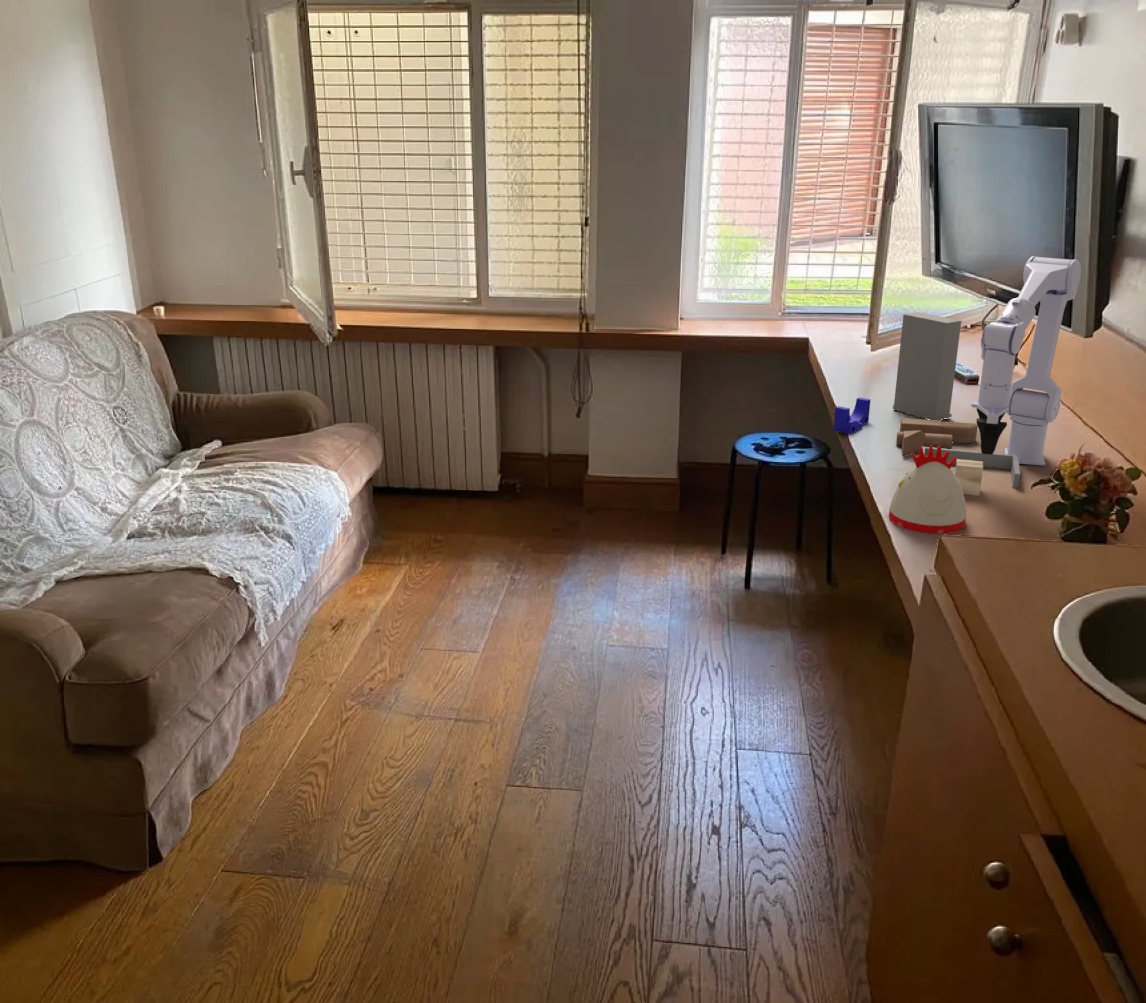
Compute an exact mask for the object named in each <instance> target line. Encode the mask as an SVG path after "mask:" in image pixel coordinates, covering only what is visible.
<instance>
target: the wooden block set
mask: <svg viewBox="0 0 1146 1003" xmlns="http://www.w3.org/2000/svg"><path fill="white" fill-rule="evenodd" d="M899 424H900V426H899V431H897V433H896V442H895V443H896V444H895V445H897V446H901V456H904V457H907V456H906V455H908V456H911V455H910V454H911V451H912V452H913V454H914V453H915V454H918V453H917V452H919V447H920V445H921V446H922V447H930V445H932V446H933V447H934V448H937V447H938V445H940V446H941V448H944V449H947V448H950V449H952V447H953V444H957V443H963V444H962V445H967V444H968V443H969V444H972V442H973V443H975V442H976V441H977V437H978V436H977V434H978V429H979V428H978V426H977V423H972V422H955V421H953V422H952V421H940V420H926V419H923V418H901V419H900V422H899ZM952 442H953V443H952ZM915 454H914V455H915Z"/></svg>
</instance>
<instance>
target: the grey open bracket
mask: <svg viewBox="0 0 1146 1003" xmlns="http://www.w3.org/2000/svg"><path fill="white" fill-rule="evenodd" d="M922 448H923V452H924V456H926V455H927V453H928V450H929V447H922ZM936 450H937V448H933V456H934V455H935V453H936ZM947 450H948V451H949V455H948V457H947V460H946V462H947V463H948V462H950V461H951V460H952V458H953V457H954V456H955V457H956V460H955V462H954V464H953V465H956V464H955V463H957V459H961V460H971V461H982V462H983V468H984V467H985V468H992V467H995V469H1005V470H1010V474H1011V483H1012V488H1013V489H1015V488H1016V489H1017V488H1019V484H1020V479H1021V478H1020V477H1021V471H1020V470H1021V469H1020V463H1019V462H1018V455H1010V454H1005V453H999V452H994V453H993V455H990V454H982V452H981V451H975V450H965V449H955V448H954V449H953V448H950V449H947V448H941V456H943V455H944V453H945V452H946V451H947Z"/></svg>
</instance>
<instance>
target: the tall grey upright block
mask: <svg viewBox="0 0 1146 1003" xmlns="http://www.w3.org/2000/svg"><path fill="white" fill-rule="evenodd" d="M902 315H903V316H902V325H901V334H900V335H901V336H900V346H899V354H898V363H897V364H898V365H897V372H896V382H895V390H894V391H895V392H894V399H893V401H894V402H893V403H894V404H893V405H892V410H893V409H894V410H897V411H896V412H900V411H901V412H900V413H903V412H905V413H904V414H907V413H909V414H908V415H910V414H912V415H911V416H913V415H916V416H919V417H918V418H920V417H923V418H927V419H930V420H941V419H944V418H949V417H951V418H952V415H953V414H952V413H951V406H952V397H953V391H954V384H955V375H956V366H957V359H958V350H959V343H960V335H961V334H960V333H961V327H962V320H960V319H953V318H949V317H944V316H939V315H936V314H931V313H930V314H929V313H926V312H925V313H923V312H919V311H917V312H916V311H915V312H910V313H903V314H902ZM894 410H893V411H894ZM916 416H915V417H916ZM923 418H922V419H923Z"/></svg>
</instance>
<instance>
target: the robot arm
mask: <svg viewBox="0 0 1146 1003" xmlns="http://www.w3.org/2000/svg"><path fill="white" fill-rule="evenodd" d="M1024 265H1025V266H1024V268H1023V273H1022V274H1023V276H1022V279H1023V287H1022V288H1021V290H1020V293H1019V294H1018V297H1016V298H1012V299H1010V300H1009V301H1008V302H1007V303H1006V305H1005V306H1004V308H1003V309H1002V311H1001V312H1000V314H999V315H998V316H997V318H996V320H995V321H991V322H990V323H987V324H986V325H985V327H984V329H983V330H982V334H981V337H980V347H981V356H980V358H981V359H982V360H983V361H982V367H981V368H982V370H981V376H980V384H979V392H978V398H977V401H972V402H971V405H970V406H971V408H974V409H975V408H976V412H977V414H978V418H976V423H975V424H976V425H977V426H978V428H977V429H978V431H979V435H980V450H981V451H980V452H982V454H990V455H993V453H995V450H996V447H997V444H998V441H999V439H1000V437H1001V435H1002V433H1003V431H1005V429H1006V427H1007V426H1008V423H1007V422H1006V421H1002V419H1003V417H1004V416H1005V414H1006V413H1007V415H1008V416H1010V417H1009V420H1010V421H1011V427H1010V436H1009V440H1008V447H1005V448H1004V454H1010V455H1018V462H1019V465H1021V464H1023V465H1031V466H1041V467H1042V466H1043V467H1044V466H1046V461H1045V456H1044V449H1045V444H1046V437H1047V432H1048V424H1051V423H1052V422H1054V421H1055V420H1056V419H1057V417H1058V415H1059V411H1060V406H1061V394H1062V389H1061V388H1060V386H1059V385H1058V384H1057V383H1056V382H1055V381H1054V380H1053V379H1052V378H1051V372H1052V368H1053V363H1054V359H1055V356H1056V355H1055V354H1056V350H1057V344H1058V340H1059V335H1060V331H1061V326H1062V321H1063V317H1064V312H1065V308H1066V305H1067V303H1068V301H1071V300H1074V299H1076V296H1077V294H1078V289H1079V286H1080V281H1081V276H1082V265H1081V263H1080V260H1078V258H1077V259H1076V258H1075V259H1070V258H1069V259H1067V258H1054V257H1042V256H1041V257H1040V256H1036V255H1032V256H1031V257H1030V258H1029V259H1028V260H1027V261H1026V263H1025V264H1024ZM1039 302H1040V304H1039V305H1040V306H1039V309H1038V310H1039V311H1038V315H1037V320H1036V325H1035V328H1034V329H1035V330H1034V334H1033V339H1032V343H1031V348H1030V354H1029V356H1028V363H1027V368H1026V374H1025V375H1024V376H1022V377H1021V378H1018V379H1016V380H1014V381H1013V377H1014V376H1013V375H1014V369H1015V361H1016V357H1017V356H1016V354H1018V353H1019V351H1020V350H1021V348H1022V346H1023V345H1022V344H1023V341H1024V338H1025V336H1026V329H1027V328H1028V327H1029V326H1030V324H1031V322H1032V321H1033V319H1034V318H1035V316H1036V308H1035V307H1036V306H1037V304H1038V303H1039ZM1029 389H1030V390H1029ZM1035 390H1036V391H1035Z"/></svg>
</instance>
